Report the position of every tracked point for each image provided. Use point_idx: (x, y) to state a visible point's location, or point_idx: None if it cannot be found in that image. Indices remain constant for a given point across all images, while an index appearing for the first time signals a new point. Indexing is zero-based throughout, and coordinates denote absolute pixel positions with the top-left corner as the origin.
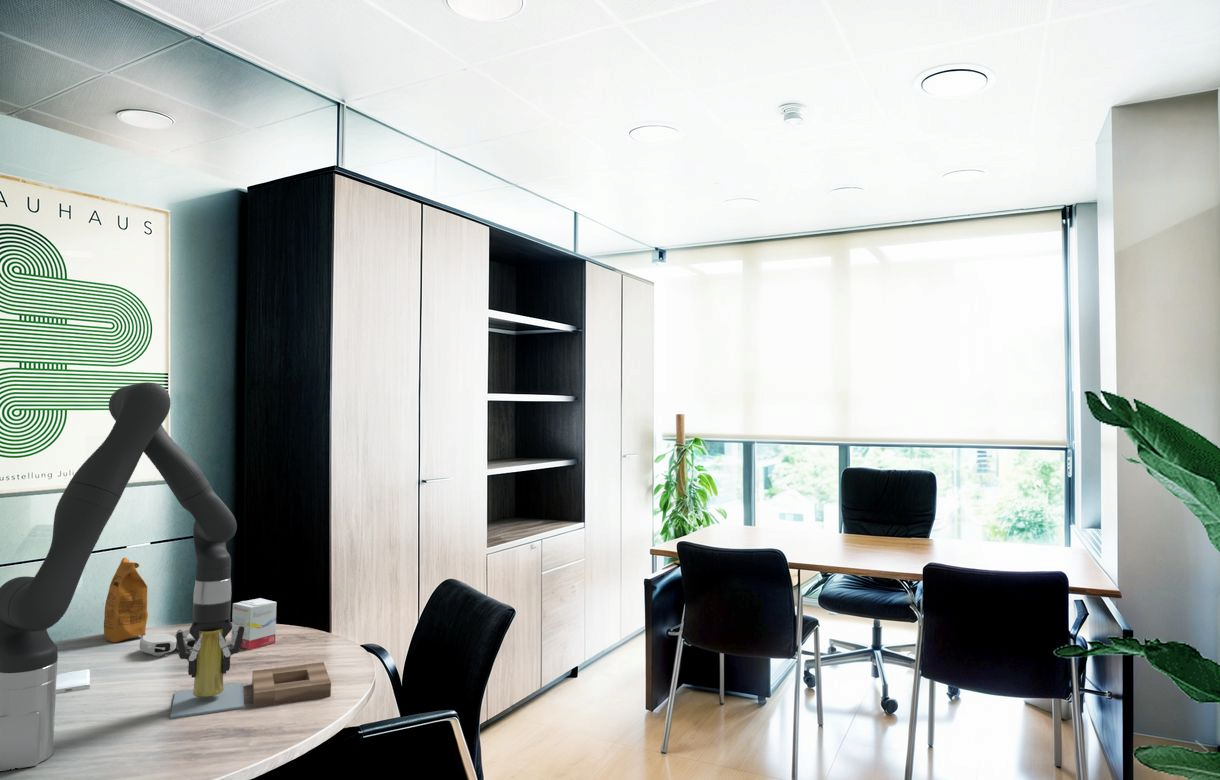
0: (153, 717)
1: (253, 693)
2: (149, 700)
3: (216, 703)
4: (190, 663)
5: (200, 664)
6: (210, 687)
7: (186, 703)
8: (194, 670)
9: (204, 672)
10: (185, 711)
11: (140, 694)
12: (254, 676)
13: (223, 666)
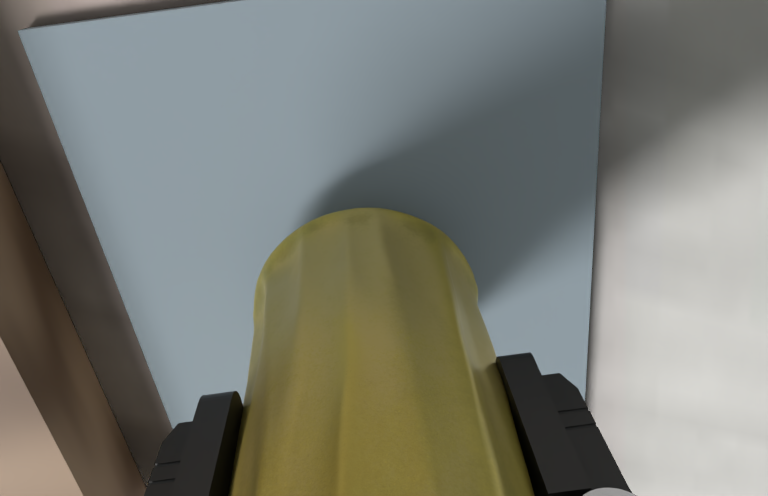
0: (715, 36)
1: (7, 246)
2: (717, 364)
3: (279, 162)
4: (598, 473)
5: (474, 429)
6: (335, 256)
7: (502, 221)
8: (522, 399)
9: (406, 342)
10: (495, 42)
11: (754, 456)
12: (60, 472)
13: (215, 446)
